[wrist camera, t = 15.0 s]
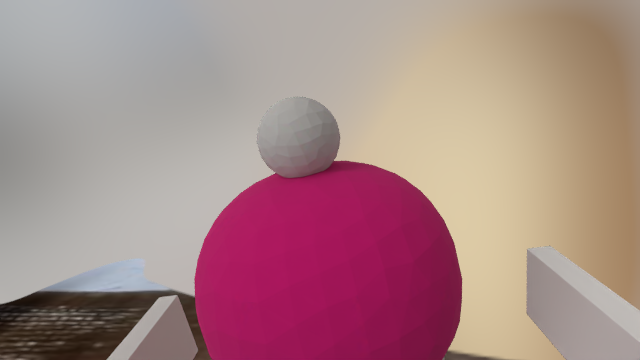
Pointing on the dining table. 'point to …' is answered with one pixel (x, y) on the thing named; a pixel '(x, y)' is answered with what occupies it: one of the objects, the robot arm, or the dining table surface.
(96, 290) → the dining table surface
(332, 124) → the pepper mill
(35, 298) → the dining table surface
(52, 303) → the dining table surface
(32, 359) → the dining table surface
